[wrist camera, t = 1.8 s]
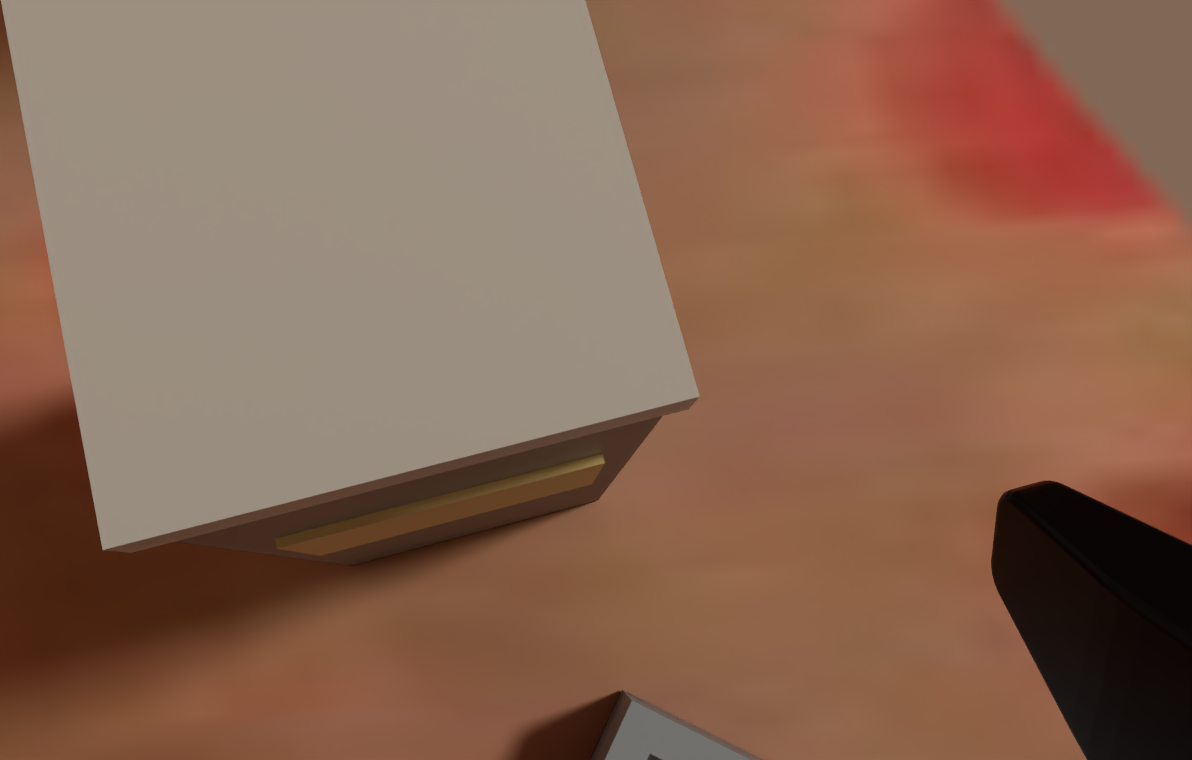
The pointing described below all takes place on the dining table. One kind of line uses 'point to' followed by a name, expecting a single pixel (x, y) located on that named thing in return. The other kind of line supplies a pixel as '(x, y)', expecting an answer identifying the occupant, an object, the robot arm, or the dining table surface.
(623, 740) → the tray
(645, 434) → the grey tall block
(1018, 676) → the dining table surface
